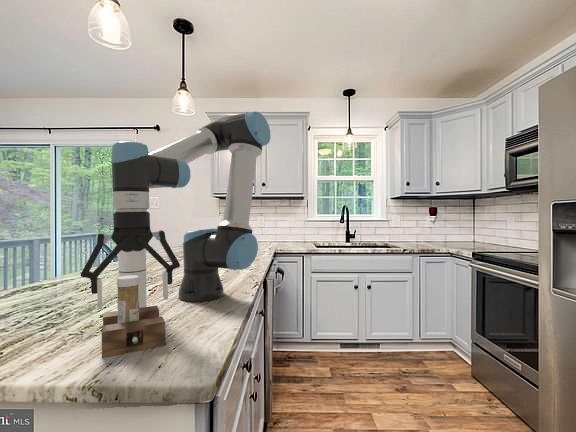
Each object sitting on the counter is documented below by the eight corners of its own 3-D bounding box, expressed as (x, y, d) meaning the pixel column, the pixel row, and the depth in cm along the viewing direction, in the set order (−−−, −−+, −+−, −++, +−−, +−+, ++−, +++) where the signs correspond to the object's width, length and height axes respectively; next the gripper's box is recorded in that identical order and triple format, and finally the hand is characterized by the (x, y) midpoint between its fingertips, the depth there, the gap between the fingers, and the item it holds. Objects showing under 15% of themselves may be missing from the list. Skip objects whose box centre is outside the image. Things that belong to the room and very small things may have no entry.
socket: (157, 324, 82) (156, 305, 82) (165, 345, 69) (165, 322, 69) (103, 332, 76) (103, 312, 76) (101, 357, 63) (101, 332, 63)
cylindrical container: (118, 319, 85) (117, 227, 85) (119, 312, 92) (118, 226, 92) (147, 315, 89) (146, 227, 88) (145, 308, 95) (145, 226, 95)
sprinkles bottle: (140, 336, 71) (140, 277, 71) (118, 341, 68) (117, 279, 68) (137, 330, 75) (137, 273, 75) (116, 334, 72) (115, 276, 72)
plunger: (139, 335, 71) (139, 324, 71) (141, 345, 65) (141, 334, 65) (127, 337, 70) (127, 326, 70) (128, 348, 64) (128, 336, 64)
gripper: (63, 211, 63) (66, 317, 63) (191, 209, 75) (193, 298, 75) (67, 211, 69) (71, 307, 70) (184, 210, 81) (186, 291, 82)
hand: (134, 302), depth 73 cm, fingers open, 13 cm apart
